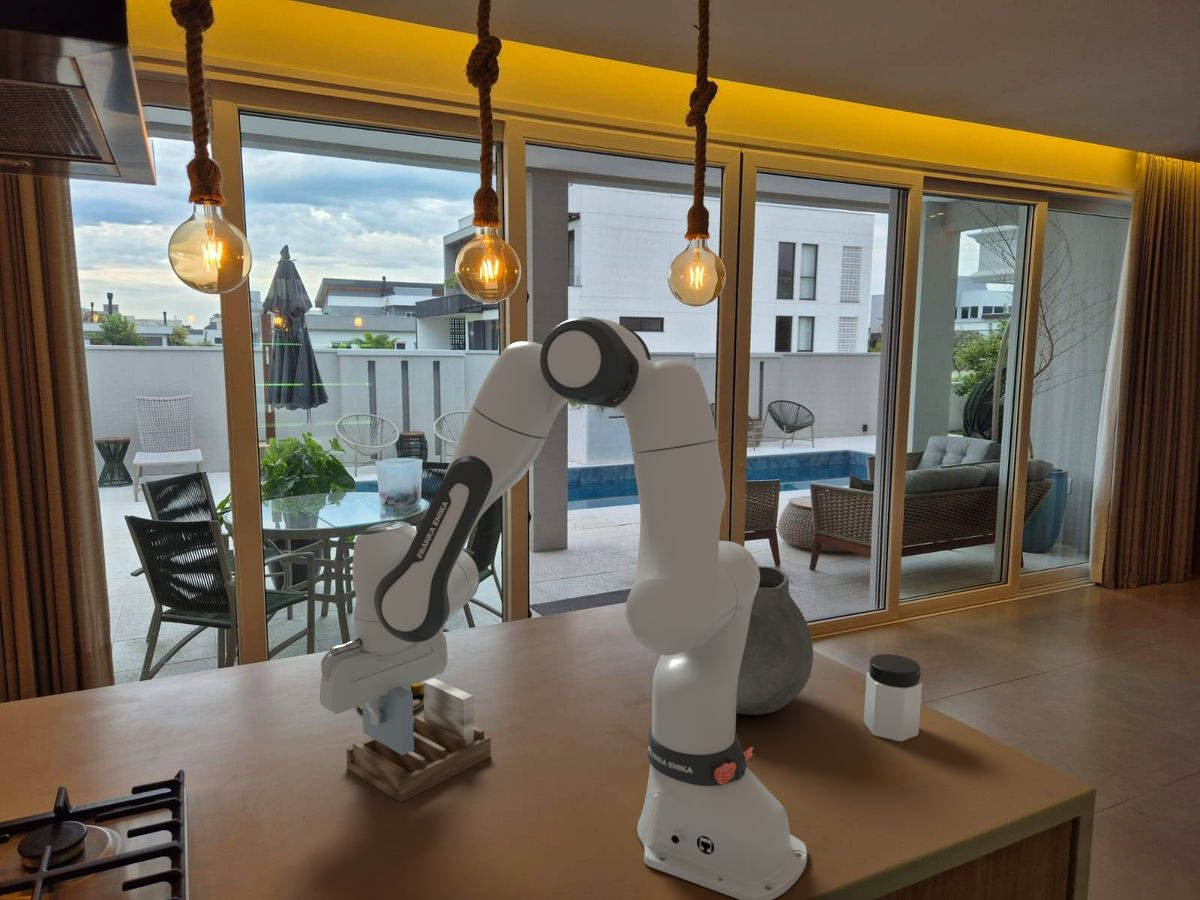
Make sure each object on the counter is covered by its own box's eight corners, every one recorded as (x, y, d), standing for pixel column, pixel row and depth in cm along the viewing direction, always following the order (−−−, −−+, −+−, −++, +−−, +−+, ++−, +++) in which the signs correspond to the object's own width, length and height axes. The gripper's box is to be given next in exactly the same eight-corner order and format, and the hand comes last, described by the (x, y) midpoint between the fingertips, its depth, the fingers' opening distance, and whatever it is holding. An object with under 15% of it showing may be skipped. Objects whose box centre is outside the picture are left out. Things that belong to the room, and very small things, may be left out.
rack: (490, 756, 125) (490, 695, 124) (401, 802, 112) (400, 735, 111) (435, 727, 134) (434, 671, 133) (347, 768, 121) (344, 705, 120)
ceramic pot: (699, 668, 160) (702, 549, 157) (821, 691, 150) (827, 564, 146) (656, 719, 138) (659, 582, 135) (795, 751, 128) (802, 603, 124)
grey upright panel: (413, 750, 116) (412, 692, 114) (402, 755, 114) (401, 696, 113) (374, 728, 122) (372, 673, 121) (363, 732, 121) (361, 677, 119)
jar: (925, 742, 131) (930, 674, 129) (877, 742, 131) (881, 674, 129) (903, 717, 140) (907, 652, 138) (858, 717, 140) (861, 652, 138)
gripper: (333, 657, 106) (337, 753, 108) (453, 617, 121) (454, 702, 123) (309, 645, 110) (312, 737, 112) (427, 608, 125) (429, 690, 127)
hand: (387, 719), depth 118 cm, fingers closed on grey upright panel, 2 cm apart
